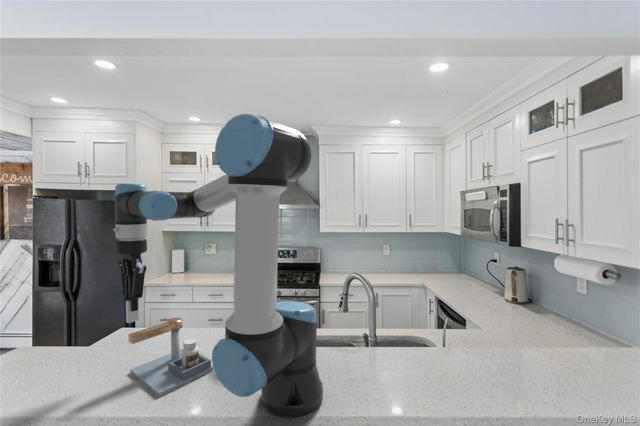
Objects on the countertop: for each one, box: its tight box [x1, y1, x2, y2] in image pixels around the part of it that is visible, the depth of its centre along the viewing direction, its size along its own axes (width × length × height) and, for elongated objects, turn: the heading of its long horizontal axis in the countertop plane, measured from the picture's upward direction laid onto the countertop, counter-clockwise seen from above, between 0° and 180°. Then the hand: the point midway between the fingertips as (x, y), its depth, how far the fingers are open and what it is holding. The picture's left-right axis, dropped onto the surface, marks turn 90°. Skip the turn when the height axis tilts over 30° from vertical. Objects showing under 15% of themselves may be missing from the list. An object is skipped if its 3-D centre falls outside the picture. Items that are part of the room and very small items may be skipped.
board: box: [130, 329, 214, 398], centre depth 85 cm, size 17×15×10 cm
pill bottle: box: [182, 338, 200, 370], centre depth 85 cm, size 4×4×8 cm
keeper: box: [128, 317, 183, 345], centre depth 86 cm, size 14×4×2 cm, turn 143°
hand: (132, 321), depth 86 cm, fingers closed
